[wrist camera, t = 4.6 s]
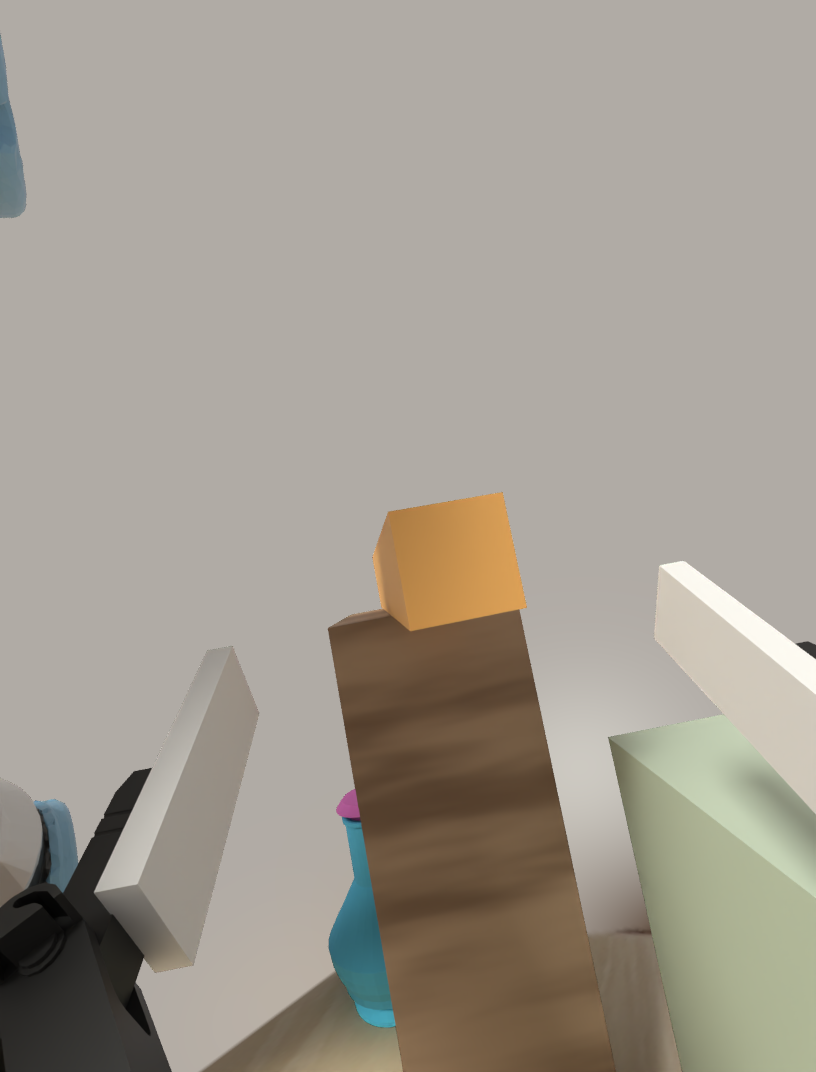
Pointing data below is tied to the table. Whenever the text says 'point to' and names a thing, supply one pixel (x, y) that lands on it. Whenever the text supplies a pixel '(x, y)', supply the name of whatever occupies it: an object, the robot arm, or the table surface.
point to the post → (467, 848)
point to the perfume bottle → (360, 932)
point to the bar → (448, 563)
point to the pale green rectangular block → (725, 894)
